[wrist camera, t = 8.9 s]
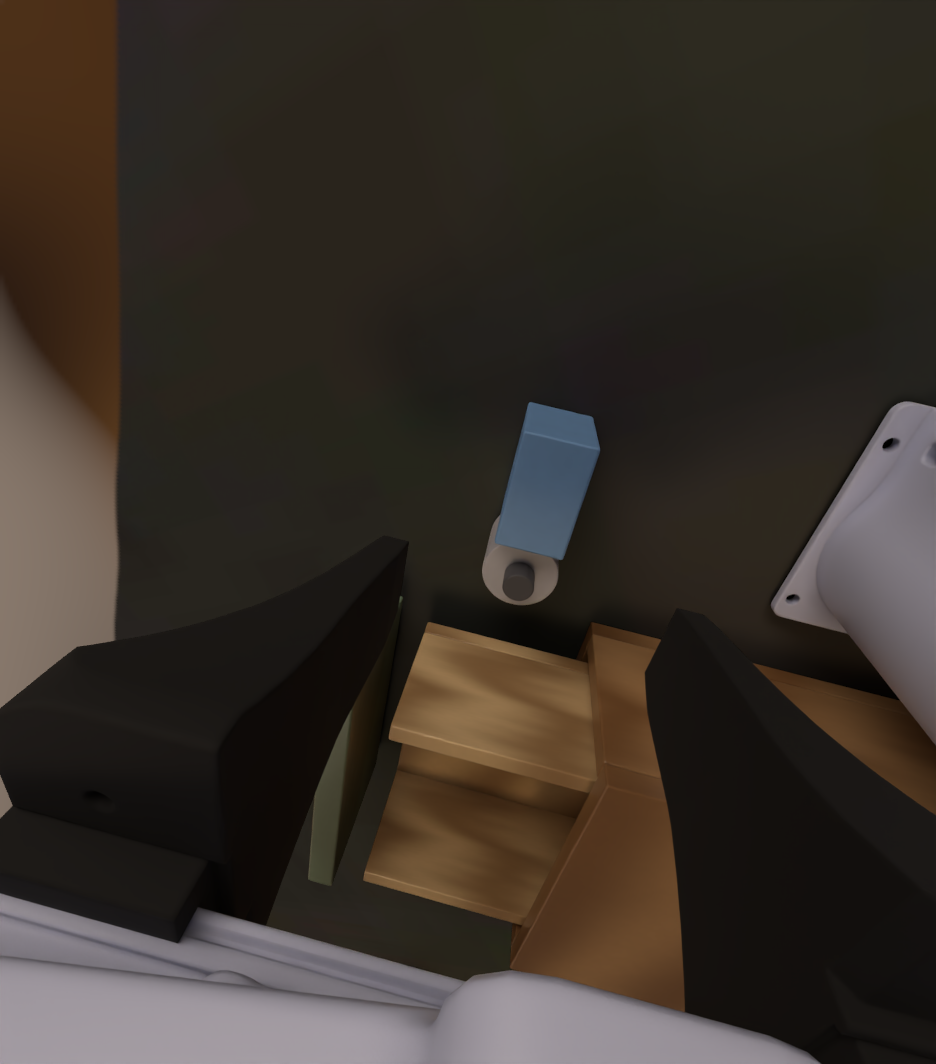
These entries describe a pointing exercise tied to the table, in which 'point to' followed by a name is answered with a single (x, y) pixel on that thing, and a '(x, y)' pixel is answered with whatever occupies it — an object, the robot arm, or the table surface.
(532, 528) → the blue block on disc
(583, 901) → the cabinet
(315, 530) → the table surface
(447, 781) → the drawer
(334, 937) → the table surface
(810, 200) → the table surface
